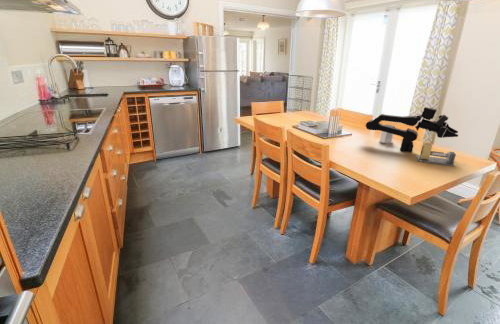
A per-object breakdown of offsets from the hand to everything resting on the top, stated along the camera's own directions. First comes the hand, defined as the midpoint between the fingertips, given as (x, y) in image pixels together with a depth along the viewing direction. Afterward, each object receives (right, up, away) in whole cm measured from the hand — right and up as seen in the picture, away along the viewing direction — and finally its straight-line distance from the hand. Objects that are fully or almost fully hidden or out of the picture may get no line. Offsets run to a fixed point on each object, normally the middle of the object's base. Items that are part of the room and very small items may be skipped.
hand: (457, 134), depth 165 cm
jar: (-25, -2, +37) cm, 45 cm away
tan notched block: (-19, -14, +2) cm, 24 cm away
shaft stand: (-14, -16, +1) cm, 22 cm away
